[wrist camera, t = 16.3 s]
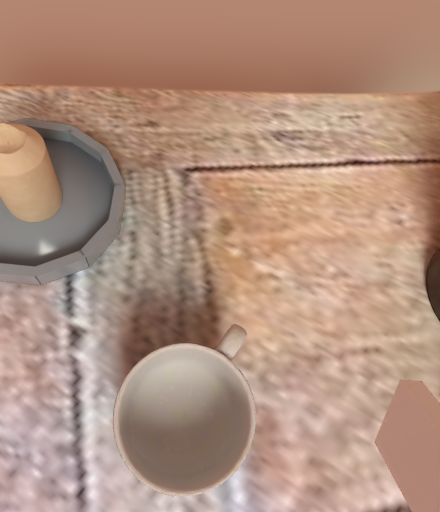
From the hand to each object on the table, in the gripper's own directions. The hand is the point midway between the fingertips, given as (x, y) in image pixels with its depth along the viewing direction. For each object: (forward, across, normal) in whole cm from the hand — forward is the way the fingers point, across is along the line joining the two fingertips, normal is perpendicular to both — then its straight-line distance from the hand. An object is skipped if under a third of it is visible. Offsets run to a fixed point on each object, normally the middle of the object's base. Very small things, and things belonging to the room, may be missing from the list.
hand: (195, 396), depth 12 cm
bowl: (+33, -16, -5) cm, 37 cm away
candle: (+32, -16, -4) cm, 36 cm away
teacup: (+20, +2, -18) cm, 27 cm away
